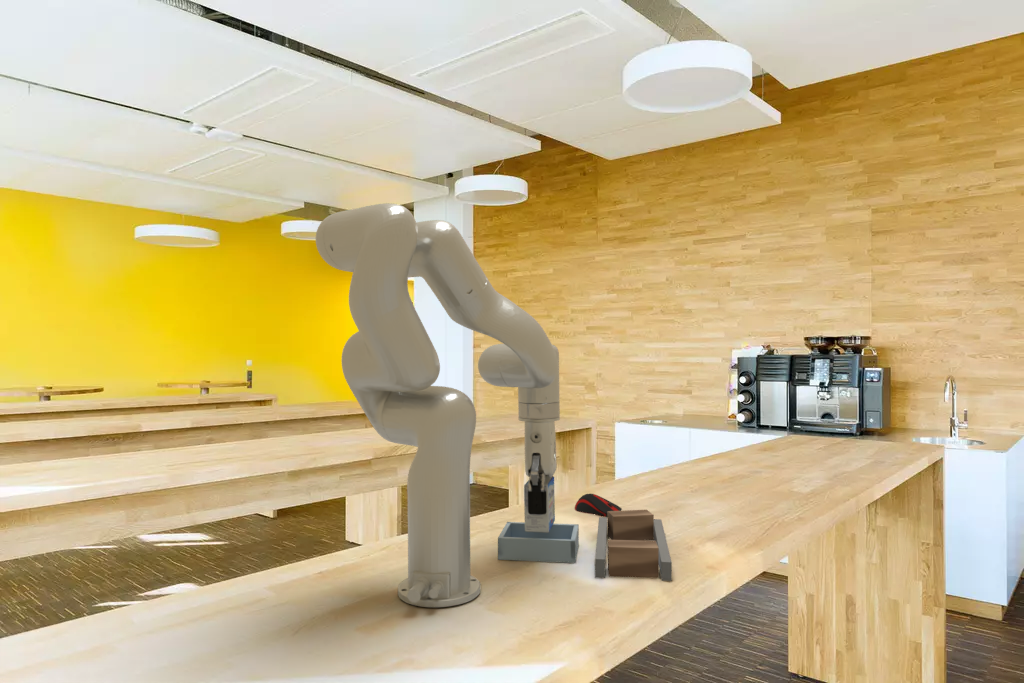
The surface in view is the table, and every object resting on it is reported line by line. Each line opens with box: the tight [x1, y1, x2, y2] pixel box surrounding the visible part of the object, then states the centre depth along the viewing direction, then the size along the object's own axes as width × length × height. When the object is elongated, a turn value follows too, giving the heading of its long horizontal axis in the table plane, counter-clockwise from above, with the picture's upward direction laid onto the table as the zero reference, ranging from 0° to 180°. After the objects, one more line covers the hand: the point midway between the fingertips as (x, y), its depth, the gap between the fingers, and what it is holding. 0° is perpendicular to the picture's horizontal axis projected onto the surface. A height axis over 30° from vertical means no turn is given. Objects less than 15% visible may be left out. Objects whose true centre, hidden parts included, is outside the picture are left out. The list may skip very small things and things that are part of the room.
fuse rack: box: [594, 516, 673, 582], centre depth 124 cm, size 26×12×3 cm, turn 171°
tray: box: [497, 521, 580, 564], centre depth 125 cm, size 11×14×4 cm
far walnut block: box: [607, 509, 655, 541], centre depth 133 cm, size 4×8×5 cm, turn 98°
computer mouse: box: [574, 493, 623, 517], centre depth 154 cm, size 6×11×4 cm, turn 45°
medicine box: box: [523, 475, 556, 533], centre depth 125 cm, size 8×4×9 cm, turn 168°
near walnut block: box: [607, 539, 660, 579], centre depth 114 cm, size 4×8×5 cm, turn 85°
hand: (540, 506), depth 125 cm, fingers closed on medicine box, 8 cm apart
